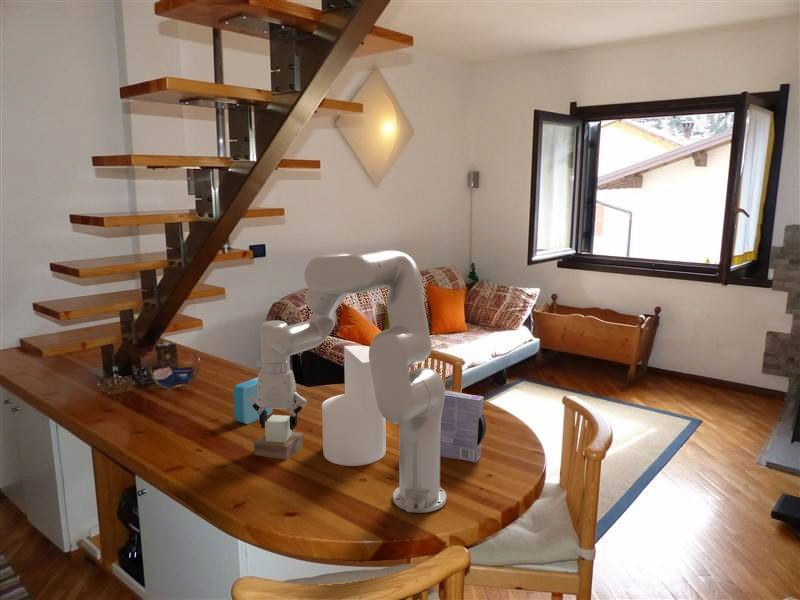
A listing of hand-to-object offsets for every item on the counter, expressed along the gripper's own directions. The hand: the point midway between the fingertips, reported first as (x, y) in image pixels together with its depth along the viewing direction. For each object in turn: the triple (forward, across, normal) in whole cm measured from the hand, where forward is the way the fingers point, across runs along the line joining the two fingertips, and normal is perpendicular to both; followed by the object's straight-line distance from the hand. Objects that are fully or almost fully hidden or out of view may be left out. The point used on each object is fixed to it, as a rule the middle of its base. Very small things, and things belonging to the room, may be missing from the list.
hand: (278, 426), depth 168 cm
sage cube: (+3, 0, 0) cm, 3 cm away
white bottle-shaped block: (+7, +21, +2) cm, 22 cm away
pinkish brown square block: (+7, 0, 0) cm, 7 cm away
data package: (+7, -16, +21) cm, 27 cm away
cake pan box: (+7, +47, +4) cm, 48 cm away
